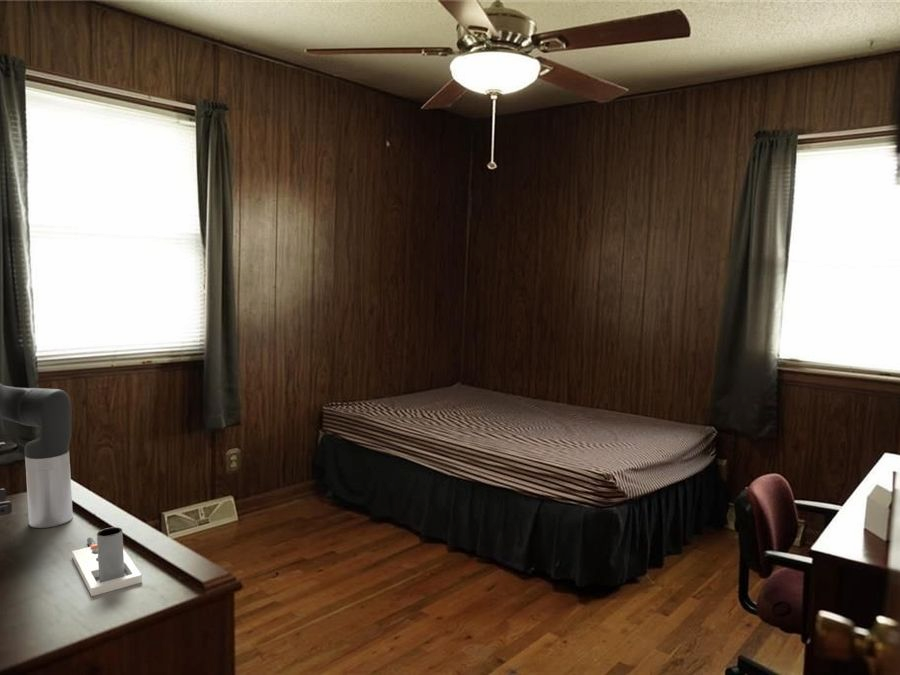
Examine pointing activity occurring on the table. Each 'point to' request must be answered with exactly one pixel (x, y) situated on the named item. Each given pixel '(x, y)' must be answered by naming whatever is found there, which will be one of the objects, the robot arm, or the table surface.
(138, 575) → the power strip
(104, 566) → the planter
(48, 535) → the table surface
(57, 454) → the robot arm
